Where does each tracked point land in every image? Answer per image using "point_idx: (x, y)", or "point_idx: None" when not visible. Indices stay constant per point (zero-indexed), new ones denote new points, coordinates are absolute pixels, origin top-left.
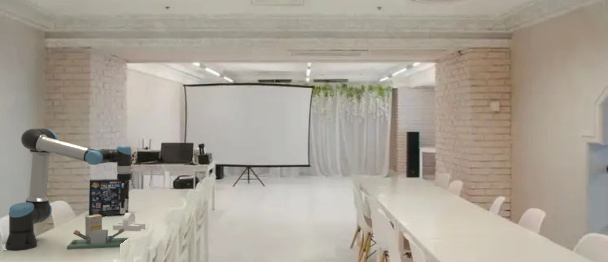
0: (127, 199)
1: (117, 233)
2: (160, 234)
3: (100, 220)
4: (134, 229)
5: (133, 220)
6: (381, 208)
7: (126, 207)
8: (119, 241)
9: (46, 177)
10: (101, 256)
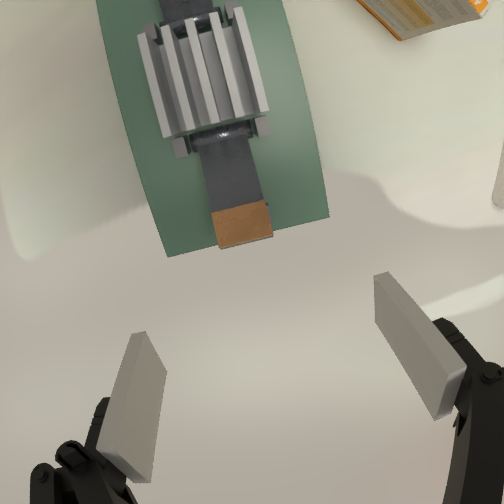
0: (435, 412)
1: (216, 203)
2: None
3: (449, 14)
4: (500, 184)
5: None
6: None
7: (386, 333)
8: None
9: None
10: (5, 214)
